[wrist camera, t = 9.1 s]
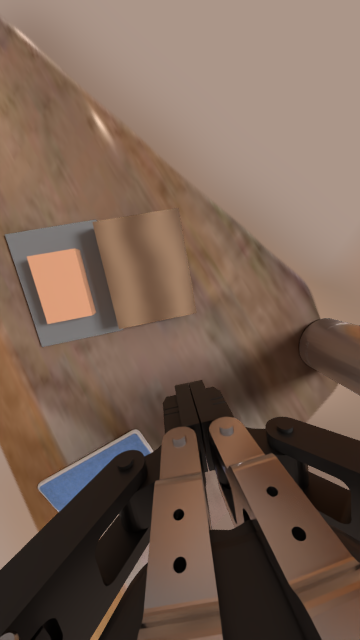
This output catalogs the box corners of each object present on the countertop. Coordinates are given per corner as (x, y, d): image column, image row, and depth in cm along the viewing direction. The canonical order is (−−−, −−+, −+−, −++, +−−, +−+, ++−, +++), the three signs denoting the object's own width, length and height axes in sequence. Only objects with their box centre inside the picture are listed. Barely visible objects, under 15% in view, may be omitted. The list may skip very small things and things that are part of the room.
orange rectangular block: (26, 256, 30) (35, 257, 33) (47, 324, 32) (54, 320, 35) (74, 248, 31) (79, 250, 33) (92, 315, 33) (96, 312, 35)
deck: (174, 214, 35) (178, 207, 31) (191, 308, 38) (196, 312, 34) (98, 227, 33) (92, 222, 30) (121, 323, 37) (119, 329, 33)
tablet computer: (79, 528, 44) (77, 536, 42) (36, 481, 41) (33, 488, 39) (171, 475, 44) (172, 481, 43) (136, 424, 41) (136, 429, 40)
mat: (96, 220, 33) (95, 219, 33) (123, 329, 37) (123, 329, 36) (6, 235, 32) (4, 234, 32) (43, 346, 36) (42, 347, 35)
